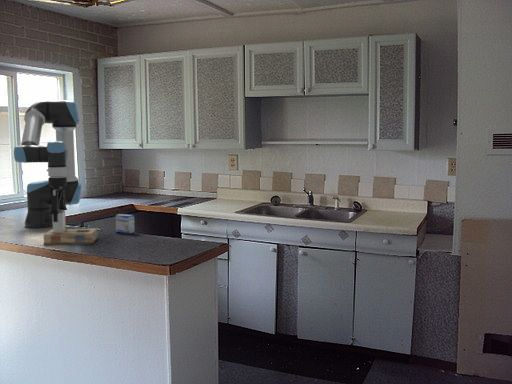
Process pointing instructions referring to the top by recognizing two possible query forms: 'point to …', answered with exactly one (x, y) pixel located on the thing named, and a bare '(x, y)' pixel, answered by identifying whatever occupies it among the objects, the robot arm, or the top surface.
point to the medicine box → (125, 223)
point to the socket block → (71, 237)
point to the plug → (61, 222)
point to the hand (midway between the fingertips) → (59, 227)
